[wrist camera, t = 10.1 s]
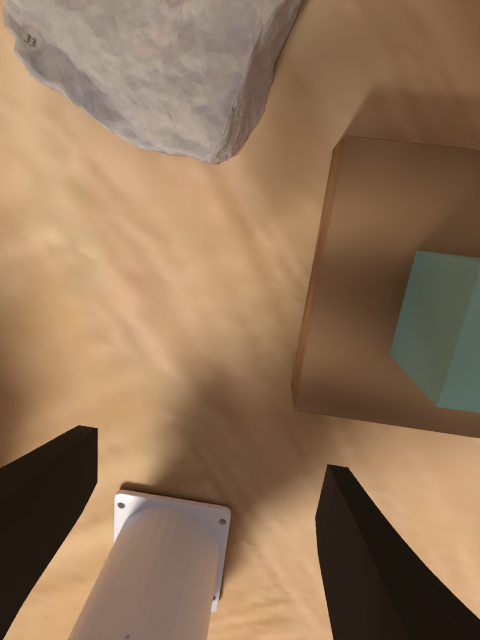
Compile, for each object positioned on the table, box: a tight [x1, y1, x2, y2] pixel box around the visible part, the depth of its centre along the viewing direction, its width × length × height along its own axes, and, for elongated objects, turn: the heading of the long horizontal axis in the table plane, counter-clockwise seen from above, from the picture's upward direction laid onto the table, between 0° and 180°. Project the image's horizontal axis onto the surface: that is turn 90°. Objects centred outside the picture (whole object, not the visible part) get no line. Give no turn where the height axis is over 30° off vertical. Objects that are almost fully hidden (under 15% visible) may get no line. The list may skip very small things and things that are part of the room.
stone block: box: [3, 0, 303, 164], centre depth 16 cm, size 12×5×10 cm
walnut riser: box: [291, 136, 480, 438], centre depth 18 cm, size 13×13×3 cm
